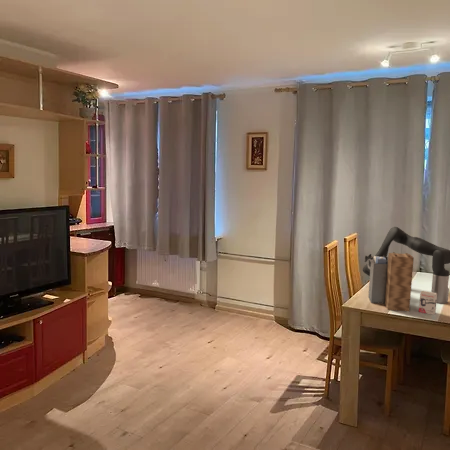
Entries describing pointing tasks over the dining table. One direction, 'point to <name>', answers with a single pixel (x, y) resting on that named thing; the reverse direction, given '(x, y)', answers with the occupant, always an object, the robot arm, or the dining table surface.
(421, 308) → the ink box
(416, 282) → the dining table surface
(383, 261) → the cream rectangular block
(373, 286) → the tray
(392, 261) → the stand
